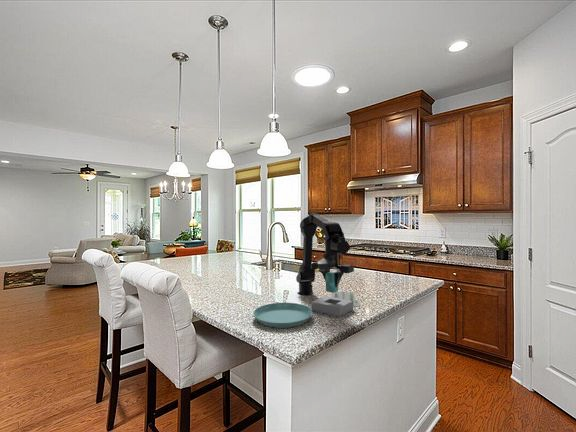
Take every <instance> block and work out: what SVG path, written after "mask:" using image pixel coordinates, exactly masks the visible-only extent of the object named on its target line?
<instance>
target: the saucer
mask: <svg viewBox="0 0 576 432" xmlns="http://www.w3.org/2000/svg"><path fill="white" fill-rule="evenodd" d="M313 312H314V311H312V308H311V307H310V306H308V305H304V304H301V303H294V302H275V303H268V304H264V305H261V306H259V307H257V308H255V309H254V310H253V317H254V318H255V319H256V320H257V322H259V323H260V324H261V325H264V326H266V327H270V328H276V329H287V328H288V329H289V328H295V327H298V326H302V325H304V324H305V323H306V322H308V321H309V320H310V319H311V317H312V315H313Z"/></svg>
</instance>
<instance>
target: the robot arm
mask: <svg viewBox="0 0 576 432" xmlns="http://www.w3.org/2000/svg"><path fill="white" fill-rule="evenodd" d="M299 228H300V232H301V234H302V236H303V242H302V243H303V244H302V245H303V246H302V263H301V265H300V267H299V269H298V273H297V275H296V282H297V283H298V290H299V291H298V292H297V294H298V295H303V296H309V295H311V294H313V293H314V291H313V283H314V282H315V279H316V270H318V272H319V273H320V274H322V276H323V277H322V278H323V279H324V282H325V283H326V273H328V272H331V270H335V271H333V272H334V274H335V287H338V288H339V284H340V282H341V280H342V277H343V276H344V274H350V273H353V272H355V267H354V266H353V264H348V263H347V264H342V265H341V262H339V256H340V255H345V254H347V253H348V252H349V250H350V244H349V241H348V240H346V237H345V234H344V232H343V231H344V230H343V229H342V227H341V225H340V223H339V222H336V221H330V220H327V218H325V217H323V216H321V215H320V214H319V213H310V214H308V216H306V217H305V218H303V219H302V220H301V221H300V223H299ZM317 228H320V229H321V233H322V234H323V236H324V238H323V241H324V245H325V246H324V251H325V253H323V257H322V259H319V261H318V260H317V261H312V260H313V245H314V244H313V242H314V241H313V239H314V236H315V235H316V233H317Z"/></svg>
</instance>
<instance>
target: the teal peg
mask: <svg viewBox="0 0 576 432" xmlns="http://www.w3.org/2000/svg"><path fill="white" fill-rule="evenodd" d="M334 272H335V271H330V272H328V273H326V282H325V292H327V293H331V294H332V293H334V292H339V286H338V287H335V274H334Z"/></svg>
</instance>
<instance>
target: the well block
mask: <svg viewBox="0 0 576 432" xmlns="http://www.w3.org/2000/svg"><path fill="white" fill-rule="evenodd" d="M311 310H312V312H314V313H321V314H324V315H328V316H332V317H333V316H334V317H337V318H341V317H343V316H344V315H346V314H348V313H350V312H352V311H353V310H354V307H353V301H351V300H346V299H340V298H335V297H332V296H328V295H324V296H322V297H320V298H317V299H315V300H313V301H311Z"/></svg>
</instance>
